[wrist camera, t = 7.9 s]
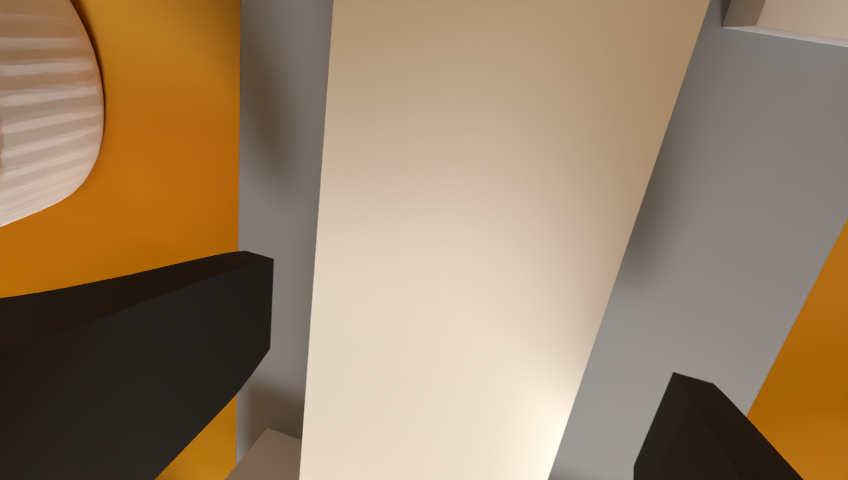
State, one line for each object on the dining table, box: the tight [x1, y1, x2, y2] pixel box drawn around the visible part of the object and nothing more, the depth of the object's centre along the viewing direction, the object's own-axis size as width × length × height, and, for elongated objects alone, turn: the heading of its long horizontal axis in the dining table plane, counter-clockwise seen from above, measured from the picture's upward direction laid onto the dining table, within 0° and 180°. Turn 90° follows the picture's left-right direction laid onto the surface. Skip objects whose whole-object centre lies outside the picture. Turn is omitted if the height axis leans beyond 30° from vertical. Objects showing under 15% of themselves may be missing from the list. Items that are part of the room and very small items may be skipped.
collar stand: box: [225, 0, 848, 480], centre depth 11 cm, size 24×12×4 cm, turn 171°
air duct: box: [299, 0, 710, 480], centre depth 10 cm, size 21×4×4 cm, turn 171°
